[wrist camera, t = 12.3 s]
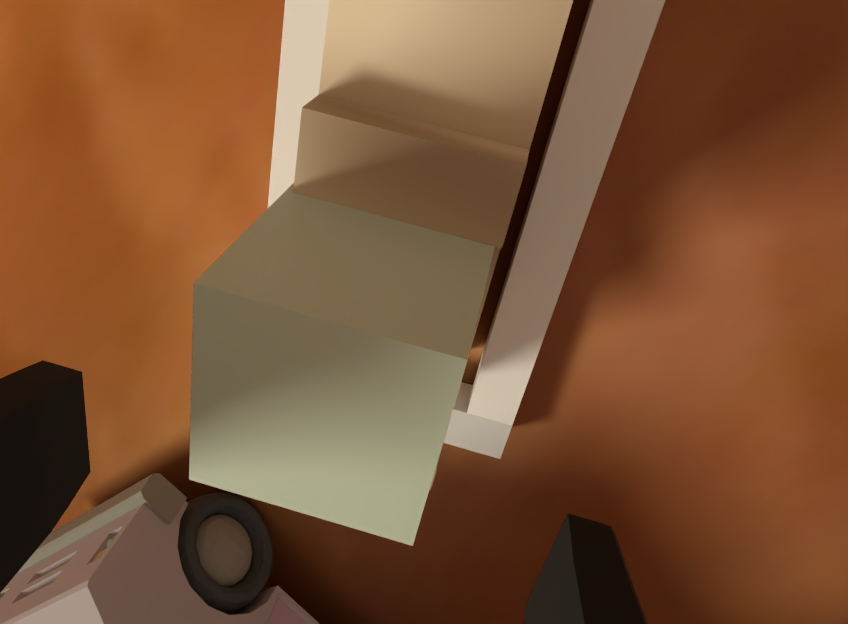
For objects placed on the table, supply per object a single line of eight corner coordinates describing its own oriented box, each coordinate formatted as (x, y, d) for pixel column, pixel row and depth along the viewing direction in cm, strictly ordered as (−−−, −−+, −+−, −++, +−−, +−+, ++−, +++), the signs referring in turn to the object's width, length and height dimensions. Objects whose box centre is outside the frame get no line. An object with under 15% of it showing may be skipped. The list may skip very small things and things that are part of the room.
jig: (504, 429, 19) (500, 459, 18) (269, 363, 20) (252, 388, 19) (726, -197, 12) (739, -206, 11) (333, -287, 12) (310, -304, 11)
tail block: (454, 385, 14) (412, 546, 10) (284, 337, 14) (189, 479, 10) (499, 226, 12) (467, 360, 8) (302, 174, 12) (193, 283, 9)
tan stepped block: (466, 346, 19) (431, 488, 14) (341, 311, 19) (266, 441, 14) (605, -135, 13) (619, -151, 8) (419, -178, 13) (336, -217, 8)
